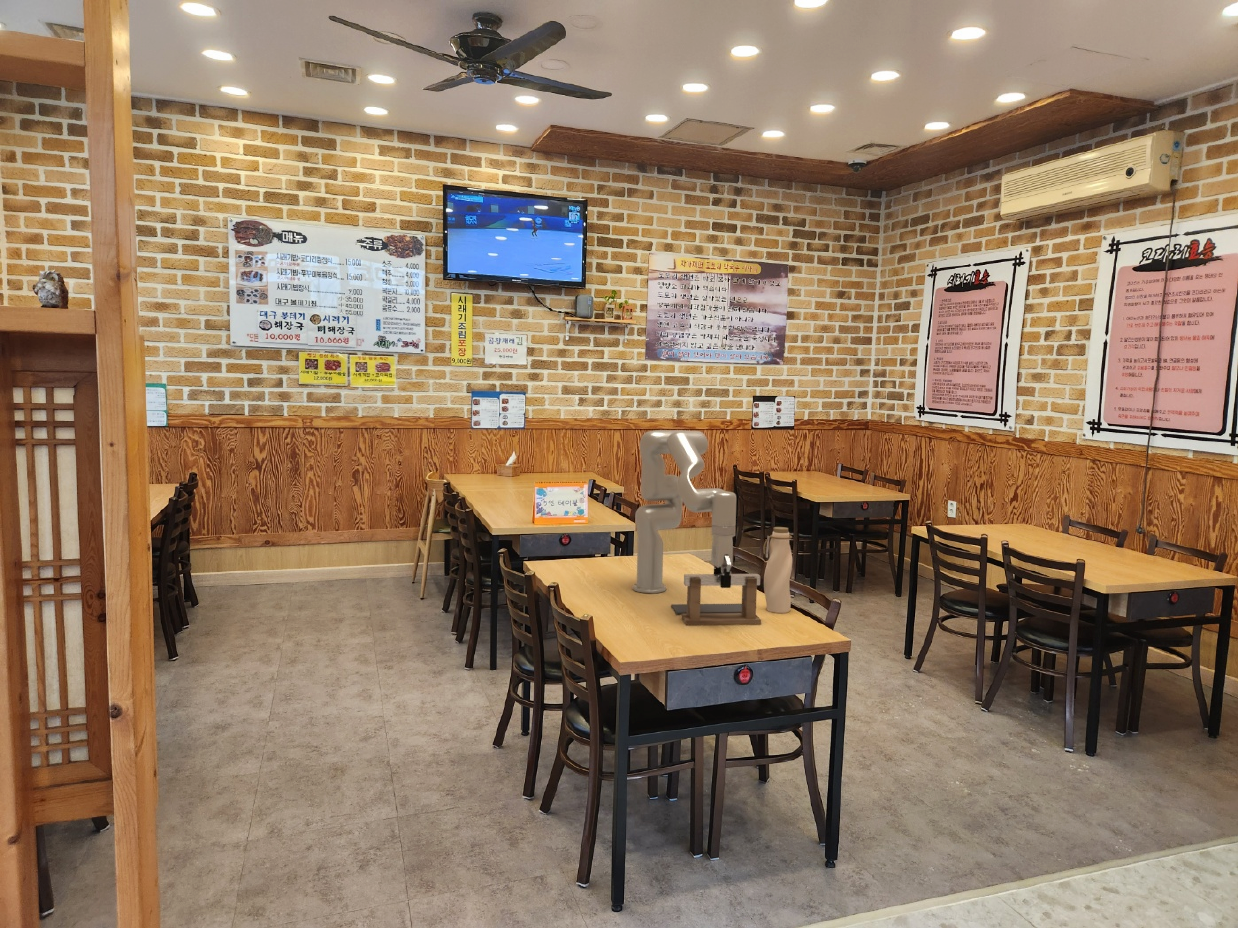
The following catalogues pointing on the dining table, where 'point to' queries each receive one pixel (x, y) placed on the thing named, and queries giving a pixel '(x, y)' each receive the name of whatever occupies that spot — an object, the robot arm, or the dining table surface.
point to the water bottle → (778, 571)
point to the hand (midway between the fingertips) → (721, 583)
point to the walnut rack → (742, 618)
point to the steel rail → (719, 579)
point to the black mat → (709, 608)
